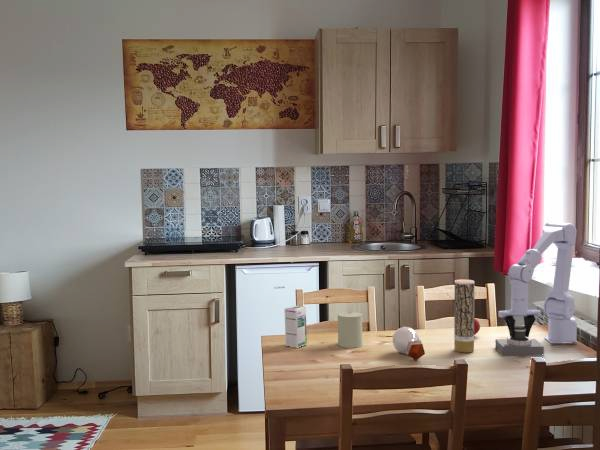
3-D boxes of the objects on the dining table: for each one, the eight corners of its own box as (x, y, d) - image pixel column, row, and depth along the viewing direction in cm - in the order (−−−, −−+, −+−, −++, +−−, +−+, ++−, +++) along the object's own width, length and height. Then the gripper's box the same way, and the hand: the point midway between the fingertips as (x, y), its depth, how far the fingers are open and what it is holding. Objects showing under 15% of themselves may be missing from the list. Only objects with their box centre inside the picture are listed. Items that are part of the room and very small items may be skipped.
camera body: (534, 346, 249) (534, 334, 249) (543, 355, 239) (543, 342, 239) (495, 347, 250) (495, 334, 249) (502, 355, 240) (502, 342, 239)
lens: (522, 339, 247) (523, 324, 246) (527, 343, 242) (528, 328, 242) (509, 340, 247) (510, 325, 246) (514, 344, 242) (514, 328, 241)
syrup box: (297, 348, 252) (297, 309, 251) (285, 346, 256) (284, 307, 254) (307, 345, 257) (306, 306, 255) (294, 342, 260) (293, 304, 259)
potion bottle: (403, 352, 250) (419, 369, 236) (383, 339, 247) (398, 355, 233) (418, 331, 250) (435, 347, 236) (398, 318, 247) (414, 333, 233)
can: (362, 341, 261) (362, 310, 259) (362, 348, 252) (362, 315, 250) (338, 341, 262) (337, 310, 260) (337, 348, 252) (336, 315, 251)
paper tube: (474, 353, 242) (474, 283, 240) (454, 353, 243) (454, 282, 241) (473, 348, 249) (474, 279, 246) (454, 347, 250) (454, 279, 248)
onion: (481, 338, 263) (481, 317, 262) (466, 338, 263) (466, 317, 262) (477, 334, 269) (478, 313, 268) (462, 334, 269) (463, 313, 268)
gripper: (535, 295, 247) (534, 333, 248) (495, 296, 246) (495, 334, 247) (543, 299, 240) (543, 338, 241) (502, 301, 239) (502, 339, 240)
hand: (519, 336), depth 244 cm, fingers closed on lens, 5 cm apart
